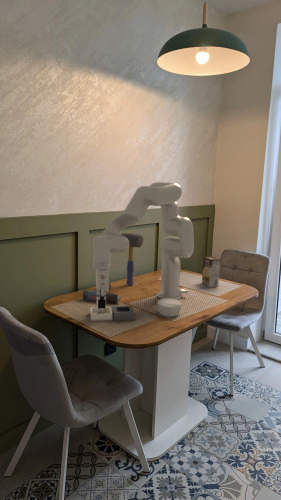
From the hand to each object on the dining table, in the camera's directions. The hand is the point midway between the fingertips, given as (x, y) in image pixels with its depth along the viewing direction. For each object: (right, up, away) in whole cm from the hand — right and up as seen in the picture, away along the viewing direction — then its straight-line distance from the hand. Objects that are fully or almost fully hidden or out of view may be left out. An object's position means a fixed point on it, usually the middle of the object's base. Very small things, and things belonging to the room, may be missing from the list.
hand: (101, 305), depth 155 cm
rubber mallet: (+11, +4, +49) cm, 50 cm away
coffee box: (+58, +3, +57) cm, 81 cm away
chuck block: (+9, -5, +1) cm, 11 cm away
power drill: (0, 0, +28) cm, 28 cm away
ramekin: (+30, -5, +8) cm, 31 cm away
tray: (0, -5, +1) cm, 5 cm away
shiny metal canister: (0, -3, +1) cm, 3 cm away
